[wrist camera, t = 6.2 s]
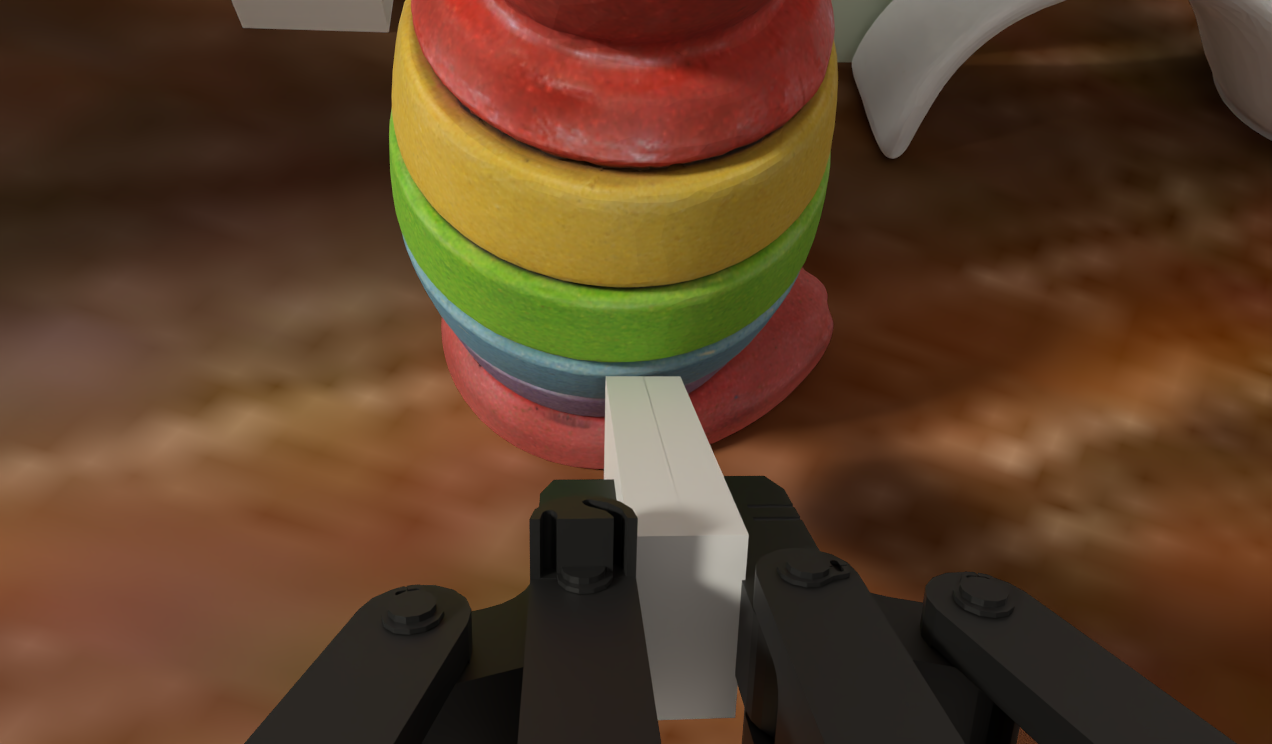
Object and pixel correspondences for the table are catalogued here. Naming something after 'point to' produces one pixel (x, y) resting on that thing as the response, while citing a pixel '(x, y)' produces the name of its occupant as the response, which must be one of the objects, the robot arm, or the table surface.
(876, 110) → the spoon rest
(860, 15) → the sage-green block
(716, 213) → the stacking bear
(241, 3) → the off-white block
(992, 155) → the table surface
